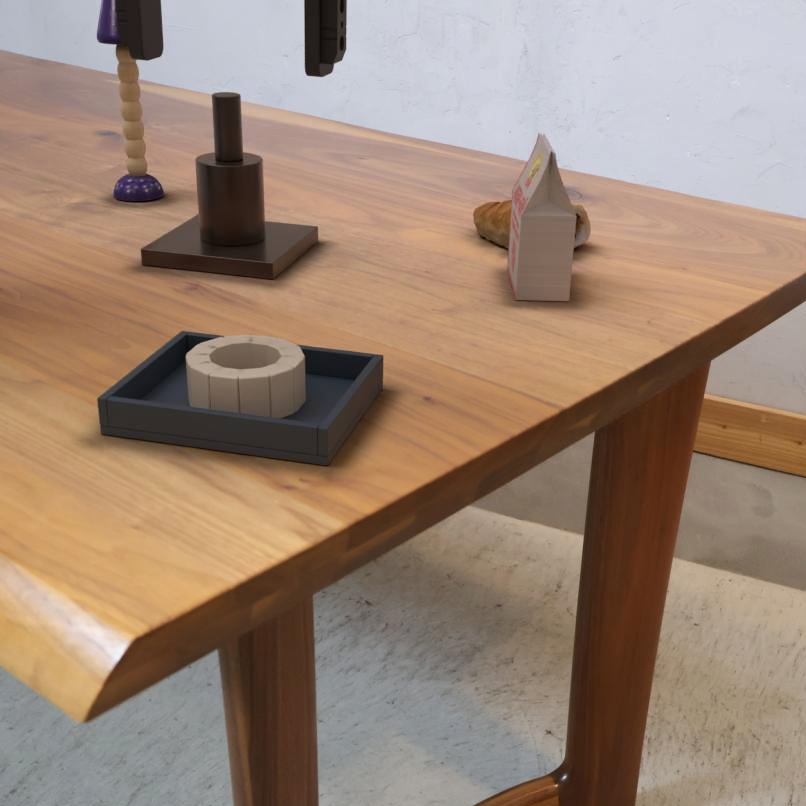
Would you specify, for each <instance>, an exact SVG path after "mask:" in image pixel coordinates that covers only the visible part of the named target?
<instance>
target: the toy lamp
mask: <svg viewBox="0 0 806 806" xmlns="http://www.w3.org/2000/svg"><path fill="white" fill-rule="evenodd" d="M116 12H117V10H116V1H115V0H101V3H100V9H99V16H98V22H97V28H96V29H97V30H96V40H97V42H98V43H100V44H104V45H115V57H116V60H117V62H118V64H117V68H116V70H117V71H116V73H117V77H118V80H119V84H118V94H119V97H120V99H121V103H120V114H121V117H122V119H123V122H122V134H123V136H124V138H125V140H124V152H125V154H126V157H127V158H126V163H125V164H126V170H127V172H128V173H127V174H125V175H123V176H121V177H120V178H119V179H117V181H116V182H115V185H114V189H113V198H114V199H116V200H118V201H124V202H125V201H126V202H146V201H153V200H157V199H159V198H162V197H163V196H164V195H165V192H164V188H163V186H162V184H161V181H159V180H158V178H156V177H155V176H153V175H151V174H149V173H148V161H147V158H146V157H145V155H146V151H147V146H146V142H145V140H144V135H145V125H144V123H143V120H142V117H143V107H142V104H141V101H140V98H141V86H140V84H139V82H138V81H139V78H140V68H139V66H138V64H137V61H138V60H135V59H132V58H131V56H130V53H129V46H126V45H122V42H121V40H120V37H119V35H118V28H117V14H116Z"/></svg>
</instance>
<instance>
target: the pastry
mask: <svg viewBox="0 0 806 806" xmlns="http://www.w3.org/2000/svg"><path fill="white" fill-rule="evenodd" d="M511 203H512V199H509V200H507V199H506V200H502V201H488V202H485V203H484V204H482V205H479V206H477V207H476V208H475V209H474V210H473V213H472V217H473V224H474V226H475V229H476V231H477V233H478V234H479V235H480V236H481V238H485V240H486V241H488V242H490V241H492V242H493V243H494V244H495V245H499V246H502V247H504V248H505V249H508V250H509V235H510V219H511ZM571 204H572V207H573V209H574V212H575V214H576V216H577V217H576V228H575V239H574V249H576V248H578V247H580V246H582V245H584V244H585V243H587V242H588V241H589V238H590V236H591V231H592V230H591V221H590V219H589V215H588V212H587V210H586V209H585V208H584V206H583V205H582V204H577V205H575V204H574V203H571Z"/></svg>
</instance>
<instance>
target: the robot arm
mask: <svg viewBox="0 0 806 806" xmlns="http://www.w3.org/2000/svg"><path fill="white" fill-rule="evenodd" d="M115 1H116V10H117V12H116V14H117V28H118V35H119V37H120V40H121V42H122V45H126V46H129V53H130V56H131V58H132V59H135V60H137V61H146V62H147V61H152V60H155V59H158V58H161V57H162V56H163V53H164V47H165V46H164V30H163V29H164V28H163V13H162V0H115ZM347 4H348V0H304V1H303V6H304V7H303V8H304V10H303V11H304V13H303V14H304V15H303V19H304V22H303V23H304V34H303V35H304V72H305V75H306V76H307V77H313V78H314V77H317V78H324V77H326V76H328V75H331V74H332V73H333V71H334V67H335V64H338V63H340V62H342V61H343V59H344V56H345V54H346V51H347V29H348V28H347V24H348V23H347V20H348V17H347V15H348V14H347V12H348V5H347Z"/></svg>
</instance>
